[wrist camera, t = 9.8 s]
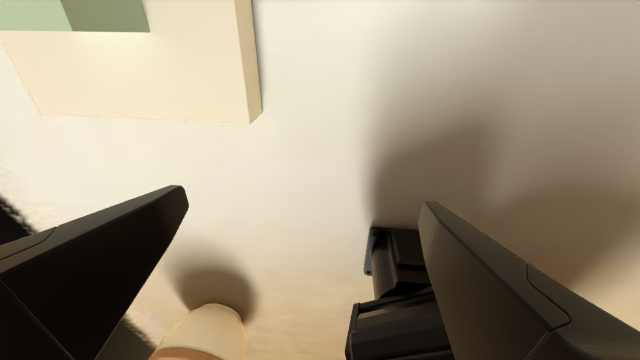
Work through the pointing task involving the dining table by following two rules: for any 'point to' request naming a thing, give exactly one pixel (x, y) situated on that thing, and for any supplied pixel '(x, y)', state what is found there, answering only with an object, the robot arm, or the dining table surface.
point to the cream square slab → (147, 66)
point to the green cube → (73, 15)
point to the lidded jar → (205, 336)
